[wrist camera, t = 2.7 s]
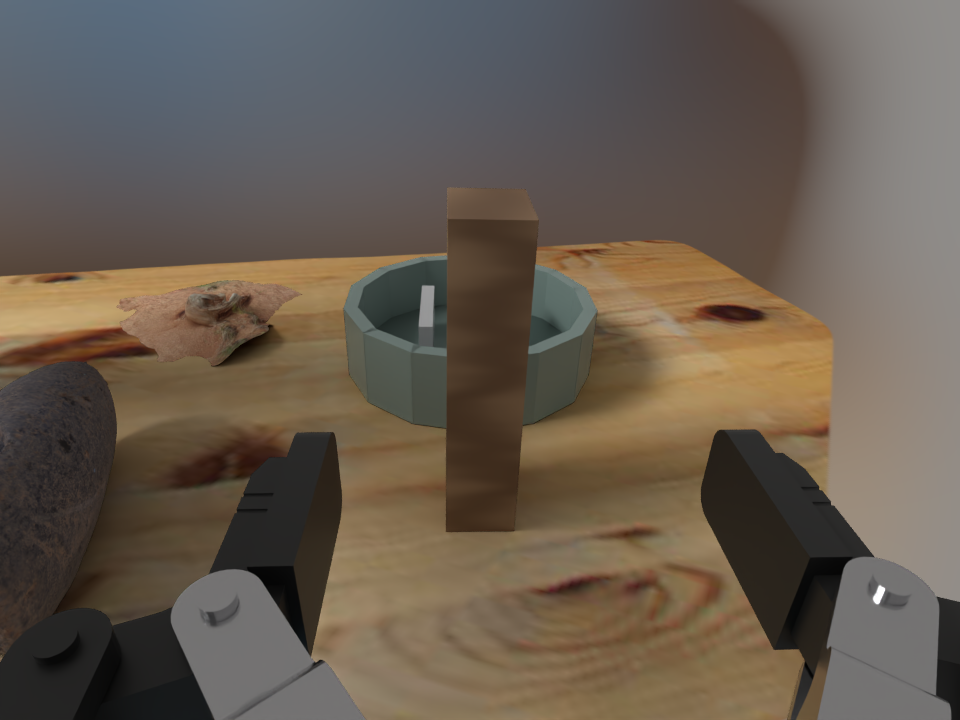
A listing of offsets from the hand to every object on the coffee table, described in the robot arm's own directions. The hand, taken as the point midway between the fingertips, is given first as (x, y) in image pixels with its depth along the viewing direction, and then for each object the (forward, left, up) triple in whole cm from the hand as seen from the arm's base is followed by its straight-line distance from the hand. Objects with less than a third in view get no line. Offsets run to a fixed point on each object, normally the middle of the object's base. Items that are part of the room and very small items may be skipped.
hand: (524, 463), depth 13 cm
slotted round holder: (0, +25, -12) cm, 27 cm away
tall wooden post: (0, +12, -12) cm, 16 cm away
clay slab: (-19, +30, -12) cm, 37 cm away
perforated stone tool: (-18, +10, -12) cm, 24 cm away
